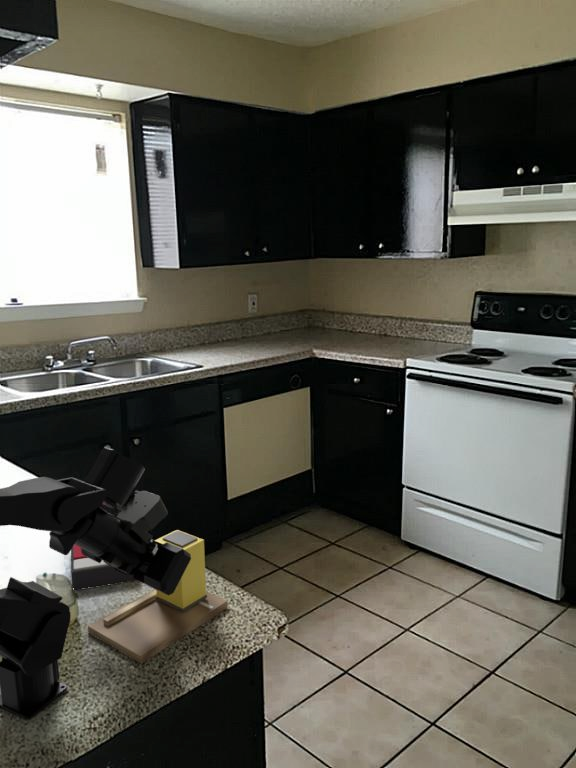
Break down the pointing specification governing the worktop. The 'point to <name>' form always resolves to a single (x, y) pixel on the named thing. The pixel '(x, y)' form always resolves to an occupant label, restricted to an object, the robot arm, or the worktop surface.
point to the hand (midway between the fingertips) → (166, 574)
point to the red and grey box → (93, 572)
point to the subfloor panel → (152, 624)
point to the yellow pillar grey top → (187, 572)
